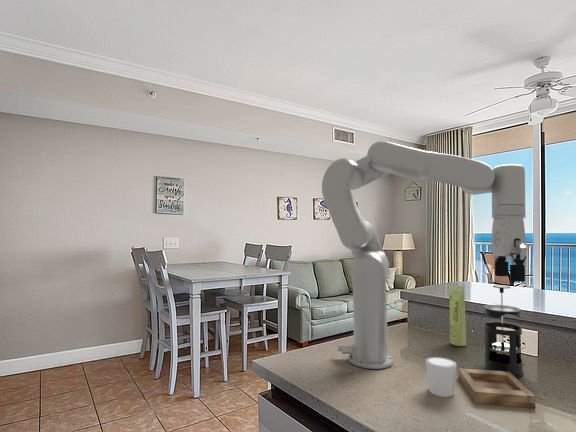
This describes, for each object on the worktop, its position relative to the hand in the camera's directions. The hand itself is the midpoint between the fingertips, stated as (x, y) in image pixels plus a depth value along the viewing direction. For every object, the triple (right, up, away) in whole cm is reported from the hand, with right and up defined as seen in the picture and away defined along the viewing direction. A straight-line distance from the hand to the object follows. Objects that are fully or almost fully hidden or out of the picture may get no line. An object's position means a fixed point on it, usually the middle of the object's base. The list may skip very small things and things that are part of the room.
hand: (509, 278), depth 96 cm
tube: (-1, -27, +28) cm, 38 cm away
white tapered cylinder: (-21, -26, -8) cm, 34 cm away
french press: (+1, -26, +5) cm, 26 cm away
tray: (-9, -25, -8) cm, 28 cm away
